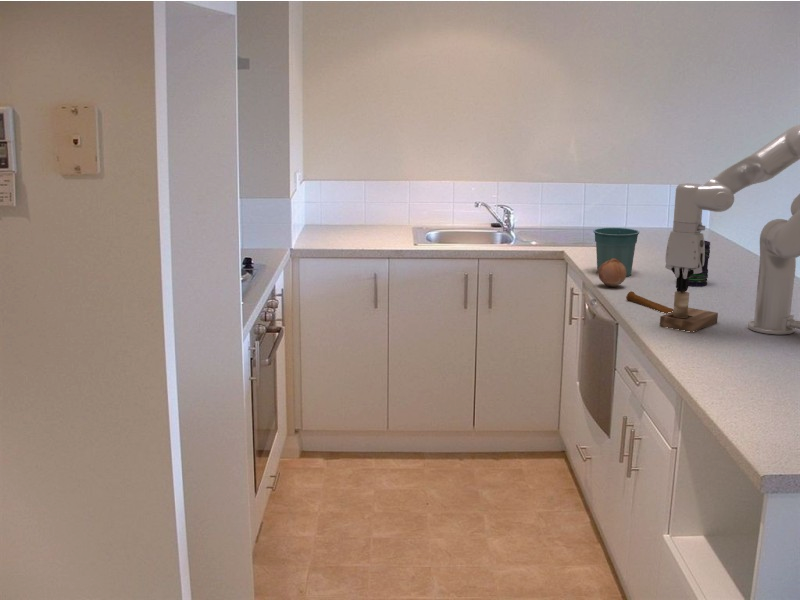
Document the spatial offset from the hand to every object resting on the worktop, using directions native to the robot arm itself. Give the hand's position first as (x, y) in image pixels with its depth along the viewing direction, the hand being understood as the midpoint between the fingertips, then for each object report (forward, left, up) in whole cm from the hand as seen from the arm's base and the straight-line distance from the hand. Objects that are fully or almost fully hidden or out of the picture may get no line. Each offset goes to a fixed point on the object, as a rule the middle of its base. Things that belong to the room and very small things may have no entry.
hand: (681, 291), depth 271 cm
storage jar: (+24, -59, -11) cm, 64 cm away
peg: (0, 0, -10) cm, 10 cm away
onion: (+42, -34, -11) cm, 55 cm away
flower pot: (+53, -54, -11) cm, 76 cm away
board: (-1, -4, -10) cm, 11 cm away
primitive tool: (+18, -17, -11) cm, 27 cm away
